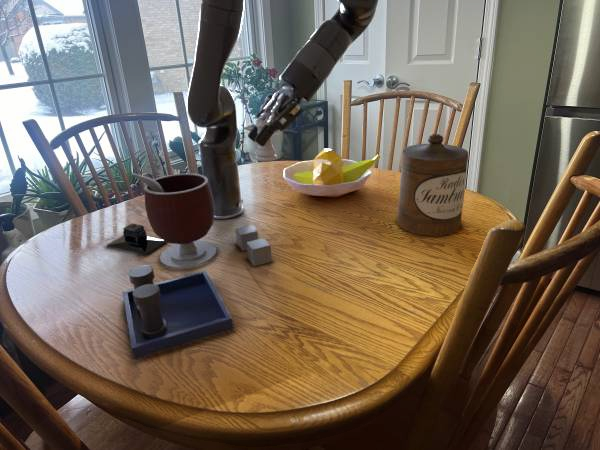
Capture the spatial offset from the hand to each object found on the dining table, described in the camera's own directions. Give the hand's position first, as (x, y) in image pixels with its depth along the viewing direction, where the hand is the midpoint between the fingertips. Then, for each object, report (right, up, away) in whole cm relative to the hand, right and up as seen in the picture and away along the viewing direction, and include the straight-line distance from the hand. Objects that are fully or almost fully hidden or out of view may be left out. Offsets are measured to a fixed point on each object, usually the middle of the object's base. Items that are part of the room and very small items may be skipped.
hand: (255, 141), depth 87 cm
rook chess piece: (+2, -3, +3) cm, 5 cm away
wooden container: (+41, -16, +21) cm, 48 cm away
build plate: (-30, -21, +17) cm, 41 cm away
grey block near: (0, -24, +7) cm, 25 cm away
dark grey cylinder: (-15, -34, -15) cm, 40 cm away
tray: (-13, -33, -10) cm, 36 cm away
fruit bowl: (+18, -6, +46) cm, 50 cm away
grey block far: (-3, -21, +14) cm, 26 cm away
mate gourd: (-17, -24, +11) cm, 31 cm away
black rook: (-18, -32, -9) cm, 37 cm away
